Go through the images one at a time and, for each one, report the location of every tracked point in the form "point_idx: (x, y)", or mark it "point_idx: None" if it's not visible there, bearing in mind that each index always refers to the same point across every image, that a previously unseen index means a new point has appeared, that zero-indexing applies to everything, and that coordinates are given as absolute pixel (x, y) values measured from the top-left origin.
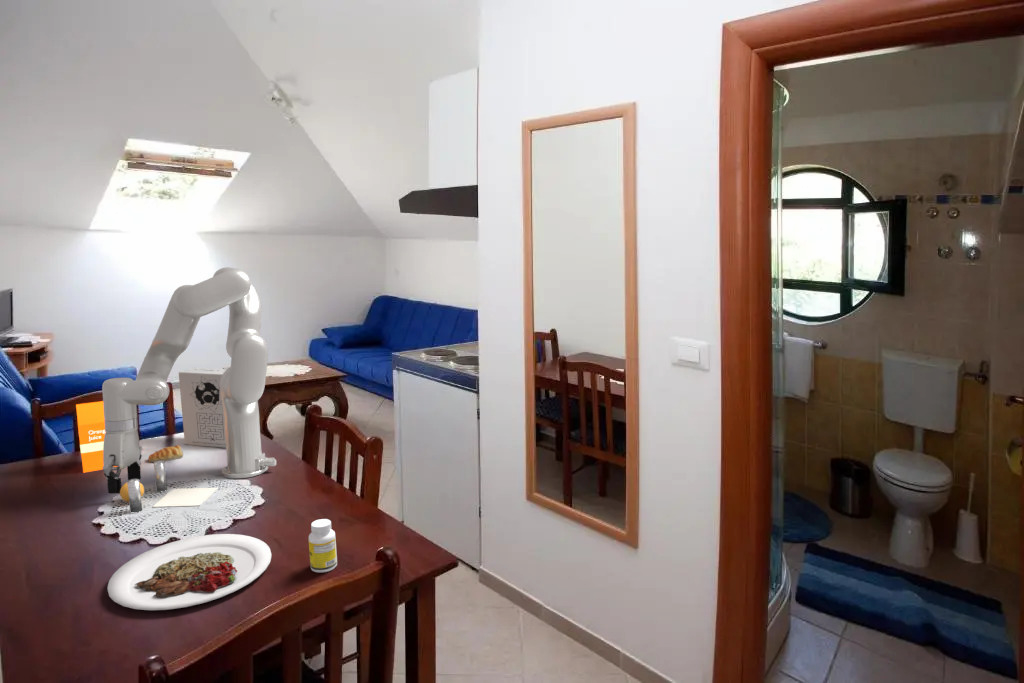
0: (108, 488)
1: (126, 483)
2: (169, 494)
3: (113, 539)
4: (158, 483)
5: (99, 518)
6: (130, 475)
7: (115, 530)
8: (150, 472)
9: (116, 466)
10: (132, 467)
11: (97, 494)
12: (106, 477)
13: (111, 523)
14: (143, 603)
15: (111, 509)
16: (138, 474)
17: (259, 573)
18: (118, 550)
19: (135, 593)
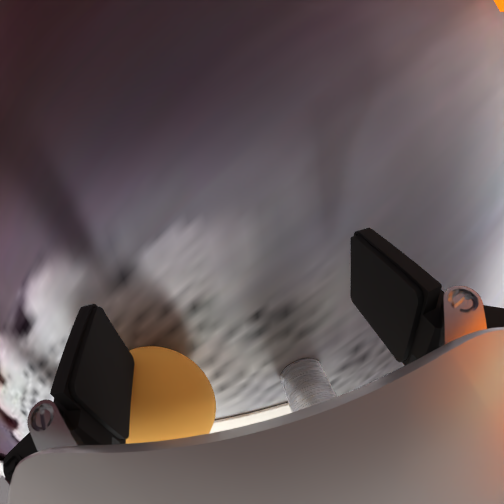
0: (75, 330)
1: (129, 442)
2: (253, 419)
3: (4, 424)
4: (291, 410)
5: (4, 347)
6: (370, 269)
7: (16, 415)
8: (489, 170)
9: (500, 8)
10: (407, 330)
11: (196, 73)
12: (31, 421)
13: (19, 394)
14: (3, 474)
15: (59, 337)
16: (371, 322)
17: None
18: (4, 439)
19: (2, 466)
